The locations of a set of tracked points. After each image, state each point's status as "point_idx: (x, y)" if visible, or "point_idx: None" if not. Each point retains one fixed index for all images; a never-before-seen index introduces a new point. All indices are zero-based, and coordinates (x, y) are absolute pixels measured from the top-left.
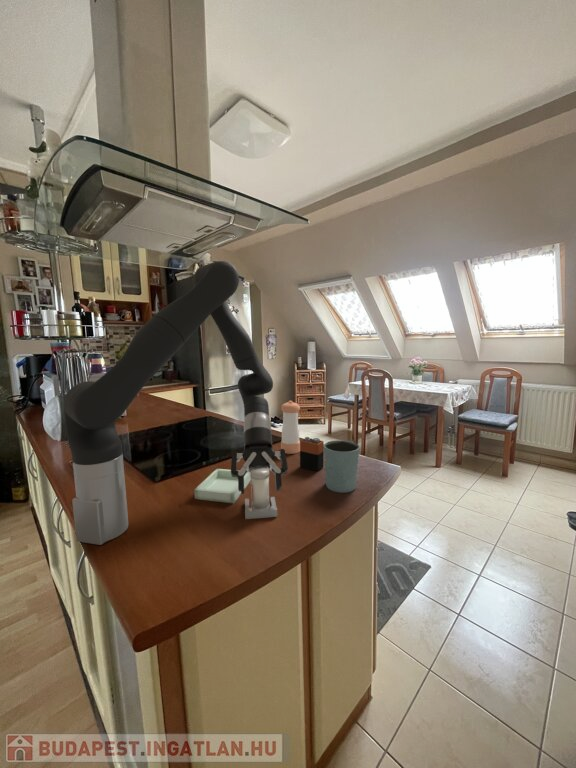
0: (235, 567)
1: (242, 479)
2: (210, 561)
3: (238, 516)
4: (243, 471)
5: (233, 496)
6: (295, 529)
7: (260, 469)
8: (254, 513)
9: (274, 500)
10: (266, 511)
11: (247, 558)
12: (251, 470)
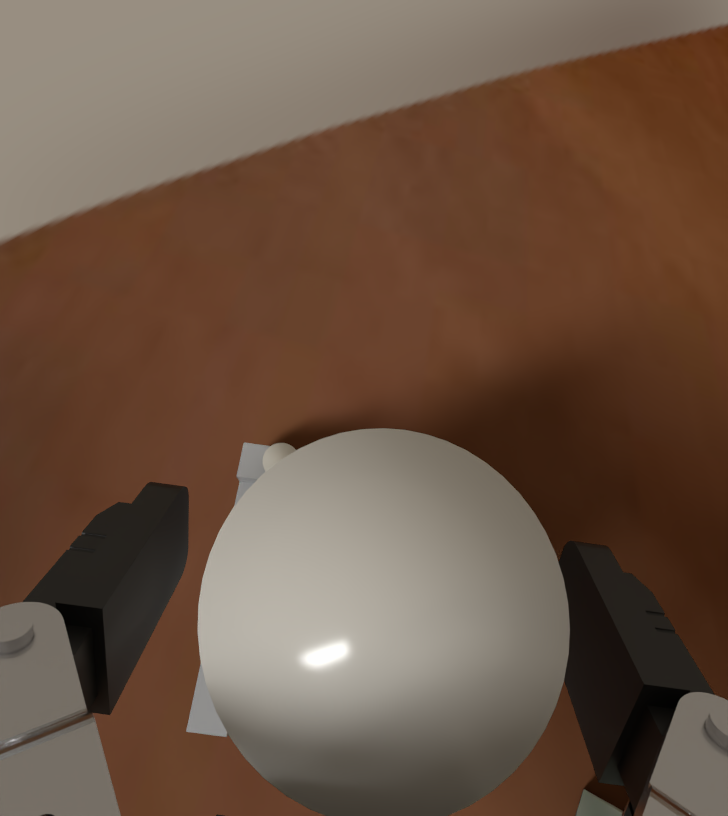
0: (548, 136)
1: (643, 640)
2: (664, 195)
3: None
4: (689, 760)
5: (618, 812)
6: (185, 296)
7: (363, 665)
8: None
9: None
10: None
11: (494, 167)
12: (547, 671)
